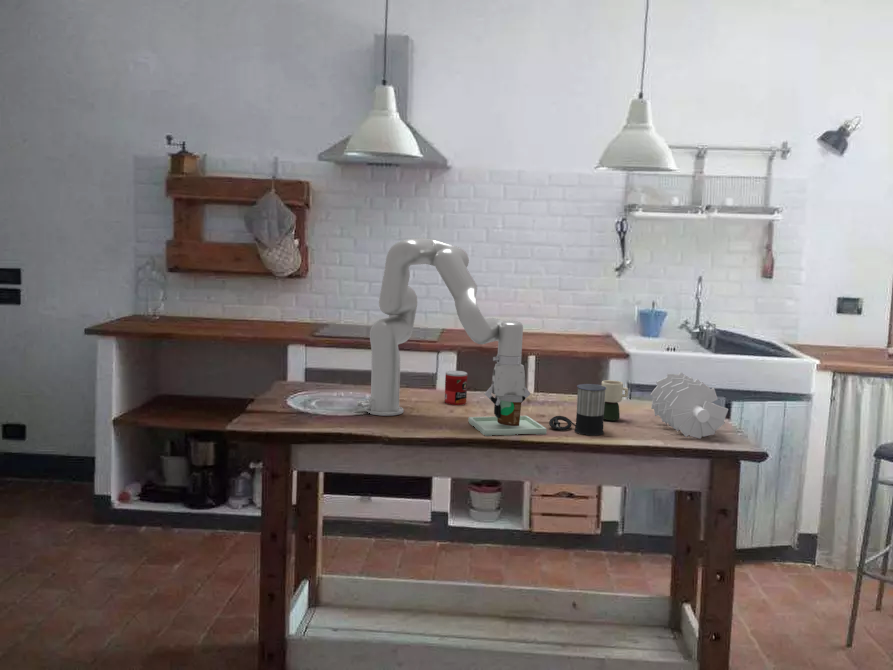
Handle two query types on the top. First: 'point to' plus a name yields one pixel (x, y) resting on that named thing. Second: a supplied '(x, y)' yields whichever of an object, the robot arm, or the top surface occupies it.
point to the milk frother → (586, 411)
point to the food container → (510, 409)
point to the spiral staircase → (687, 405)
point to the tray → (506, 426)
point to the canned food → (455, 387)
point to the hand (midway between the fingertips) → (506, 416)
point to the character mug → (613, 398)
